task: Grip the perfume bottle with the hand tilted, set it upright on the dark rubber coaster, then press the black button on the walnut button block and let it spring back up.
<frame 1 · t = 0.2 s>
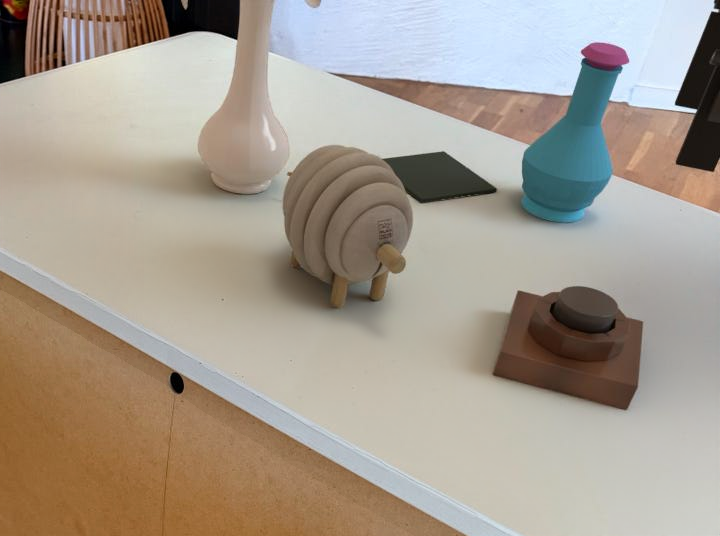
hand: (692, 135, 72), 16 cm above the table, tool pointing down, fingers open, 13 cm apart
toy sheep: (333, 286, 83), on the table
coaster: (432, 177, 101), on the table
button: (584, 310, 75), point 4 cm above the table, slide at 0.1 cm
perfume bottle: (551, 209, 98), on the table
button block: (565, 358, 78), on the table
flower vase: (237, 186, 95), on the table
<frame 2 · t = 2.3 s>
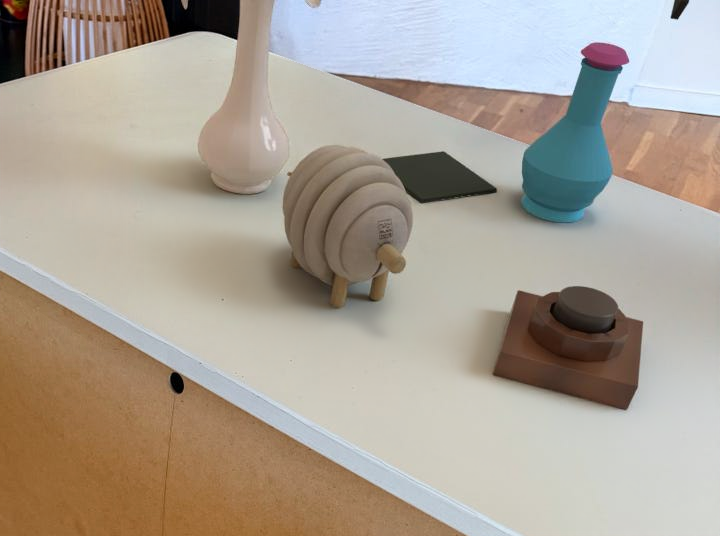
nothing on the table moved.
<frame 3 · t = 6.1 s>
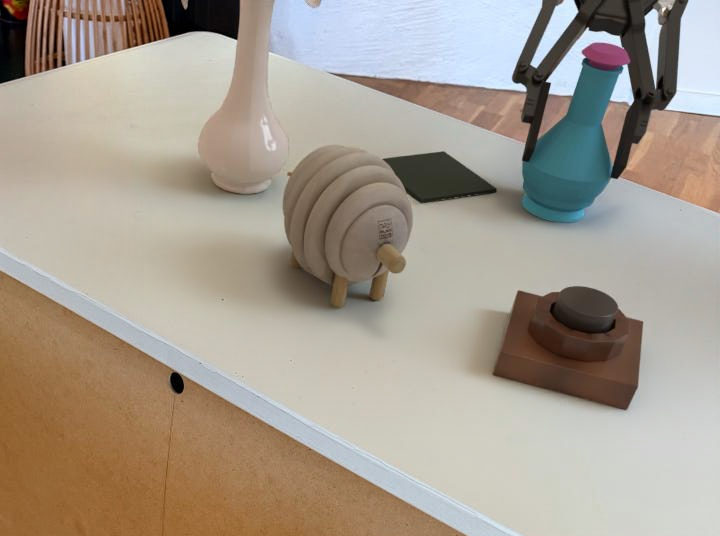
hand: (573, 163, 92), 6 cm above the table, tool tilted 45°, fingers closed on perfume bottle, 8 cm apart
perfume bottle: (551, 209, 98), on the table, touching gripper
everything else where it was.
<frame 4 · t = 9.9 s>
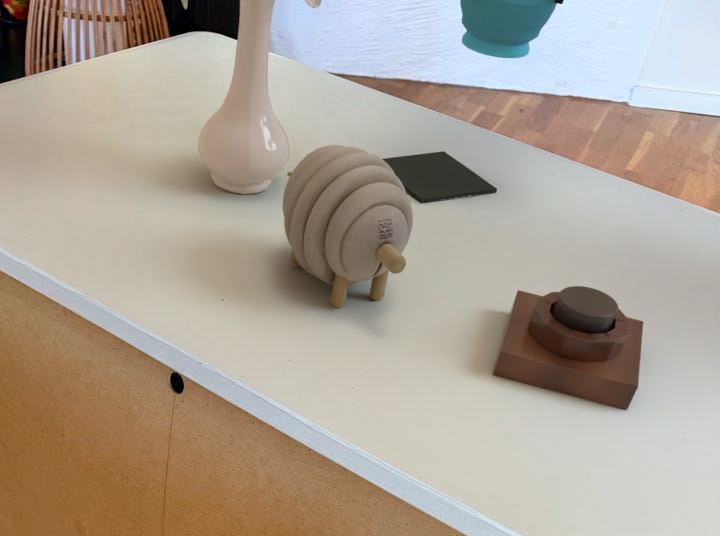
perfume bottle: (494, 48, 90), point 13 cm above the table, touching gripper
everything else where it was.
when the fingers open (6 cm above the table, at t = 14.0 s): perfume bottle stays where it is, resting on coaster.
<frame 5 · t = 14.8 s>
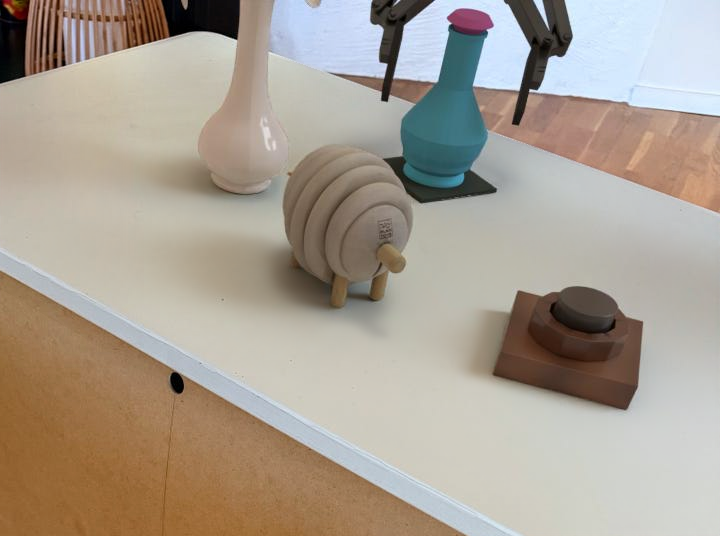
hand: (451, 106, 93), 8 cm above the table, tool tilted 45°, fingers open, 13 cm apart
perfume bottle: (432, 176, 100), resting on coaster
everything else where it was.
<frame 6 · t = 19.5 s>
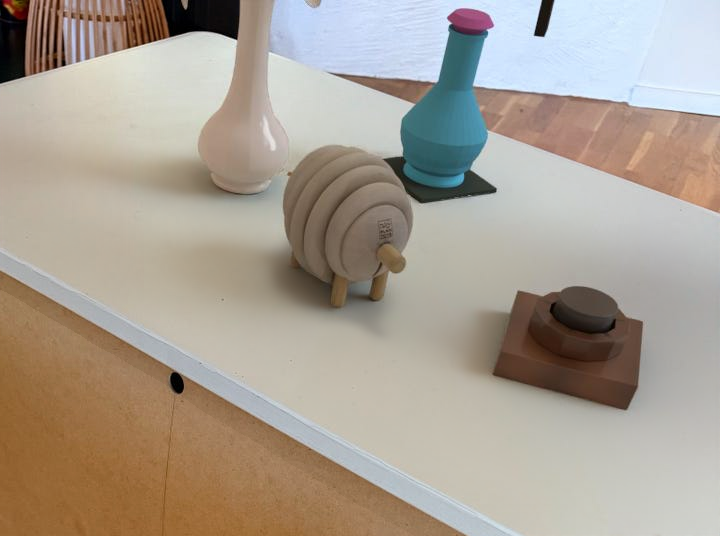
hand: (638, 45, 64), 22 cm above the table, tool pointing down, fingers open, 13 cm apart
nothing on the table moved.
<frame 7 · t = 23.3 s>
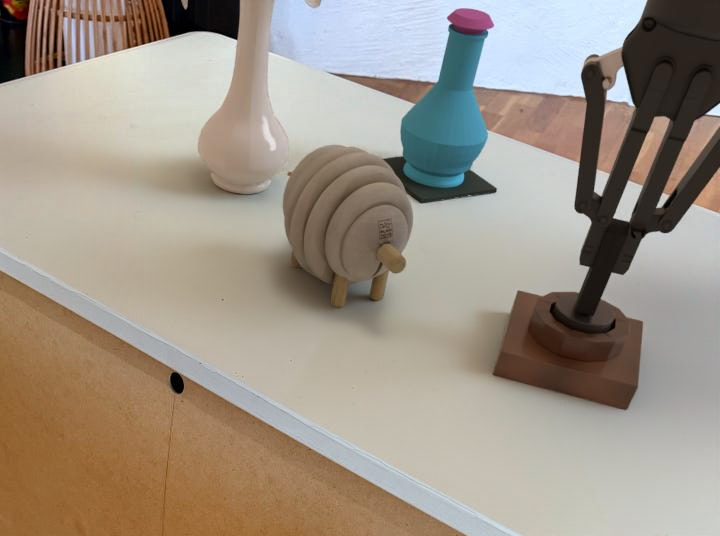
hand: (585, 305, 74), 5 cm above the table, tool pointing down, fingers closed
button: (581, 318, 75), point 4 cm above the table, slide at -0.7 cm, touching gripper
everything else where it was.
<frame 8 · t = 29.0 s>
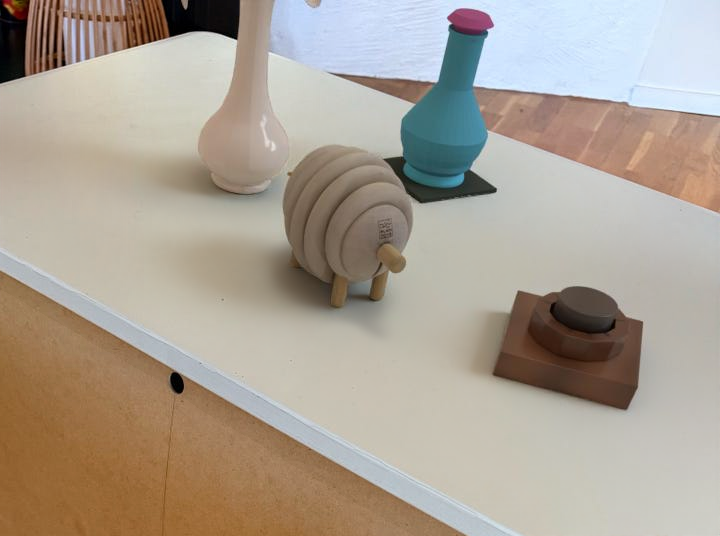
button: (584, 310, 75), point 4 cm above the table, slide at 0.1 cm
everything else where it was.
at the end: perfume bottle inside the target area on the coaster (0.1 cm from its centre), point 0.2 cm above the coaster's base; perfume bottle tilted 0°; button pushed in 1.0 cm at the most during the clip, back to where it started at the end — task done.
